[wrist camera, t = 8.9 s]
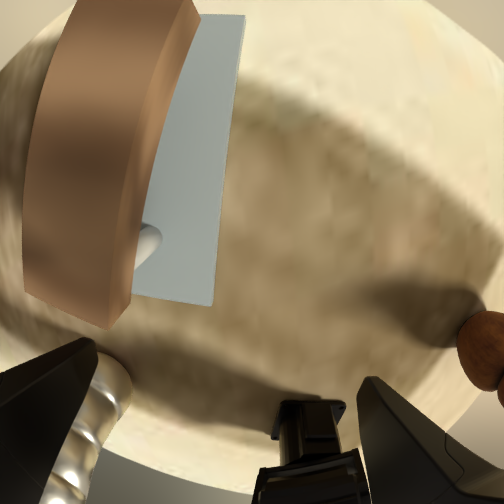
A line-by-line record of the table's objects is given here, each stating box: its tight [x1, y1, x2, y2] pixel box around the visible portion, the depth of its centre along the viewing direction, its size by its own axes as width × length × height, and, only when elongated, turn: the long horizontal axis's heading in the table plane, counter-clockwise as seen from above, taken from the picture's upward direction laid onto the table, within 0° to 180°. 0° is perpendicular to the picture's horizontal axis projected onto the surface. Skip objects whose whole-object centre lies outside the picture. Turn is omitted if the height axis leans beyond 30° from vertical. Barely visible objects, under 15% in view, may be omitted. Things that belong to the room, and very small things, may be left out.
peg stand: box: [131, 14, 246, 307], centre depth 15 cm, size 20×12×5 cm, turn 173°
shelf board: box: [22, 0, 201, 331], centre depth 11 cm, size 16×6×3 cm, turn 163°
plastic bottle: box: [39, 352, 133, 504], centre depth 15 cm, size 6×7×20 cm
